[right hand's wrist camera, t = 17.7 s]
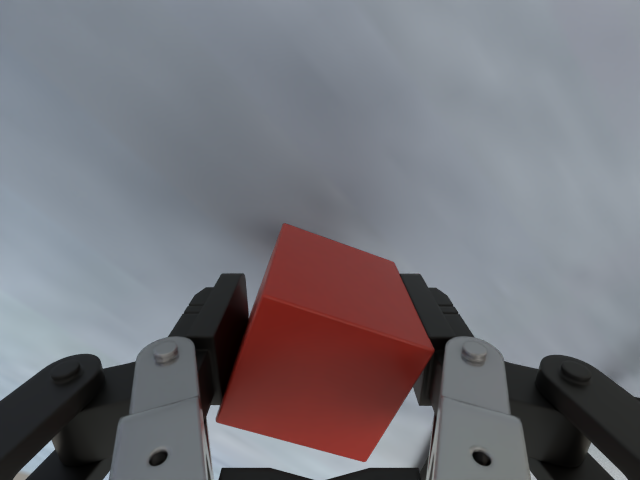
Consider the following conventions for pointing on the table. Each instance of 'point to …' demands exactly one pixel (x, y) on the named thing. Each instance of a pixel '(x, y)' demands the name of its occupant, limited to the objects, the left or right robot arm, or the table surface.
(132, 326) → the table surface
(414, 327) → the block
